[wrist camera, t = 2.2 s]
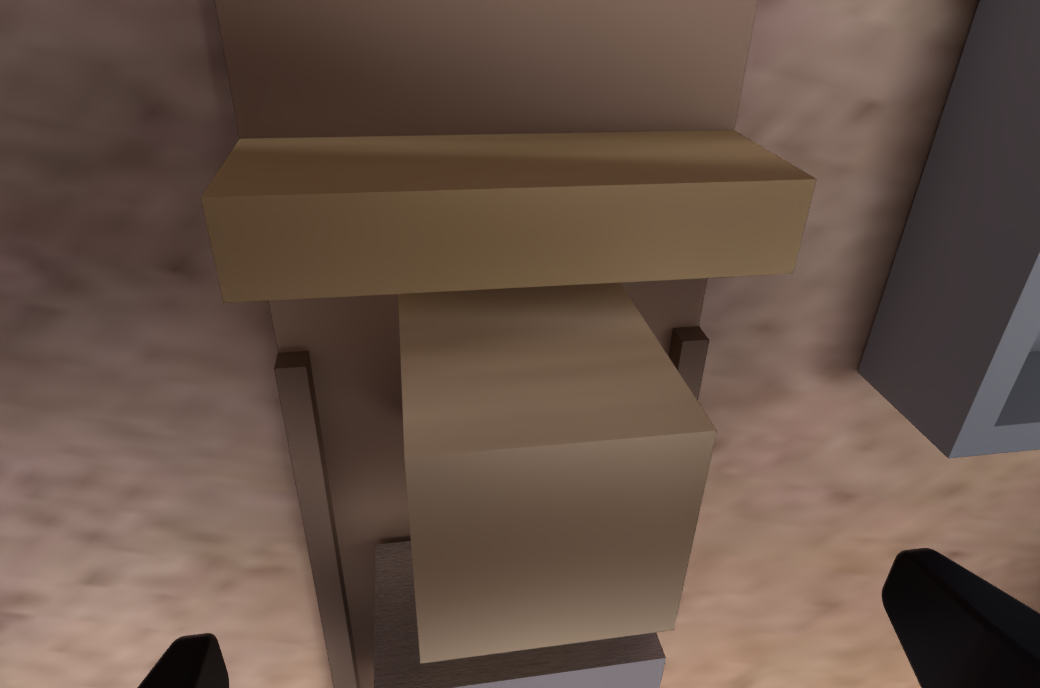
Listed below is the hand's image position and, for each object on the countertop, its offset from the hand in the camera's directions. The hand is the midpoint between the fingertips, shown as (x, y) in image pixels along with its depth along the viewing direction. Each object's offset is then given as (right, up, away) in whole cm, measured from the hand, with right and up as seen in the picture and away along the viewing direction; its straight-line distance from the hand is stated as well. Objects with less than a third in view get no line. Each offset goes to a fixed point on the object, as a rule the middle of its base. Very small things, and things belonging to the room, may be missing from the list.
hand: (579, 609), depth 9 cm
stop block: (-1, +4, +6) cm, 7 cm away
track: (-1, +1, +8) cm, 9 cm away
